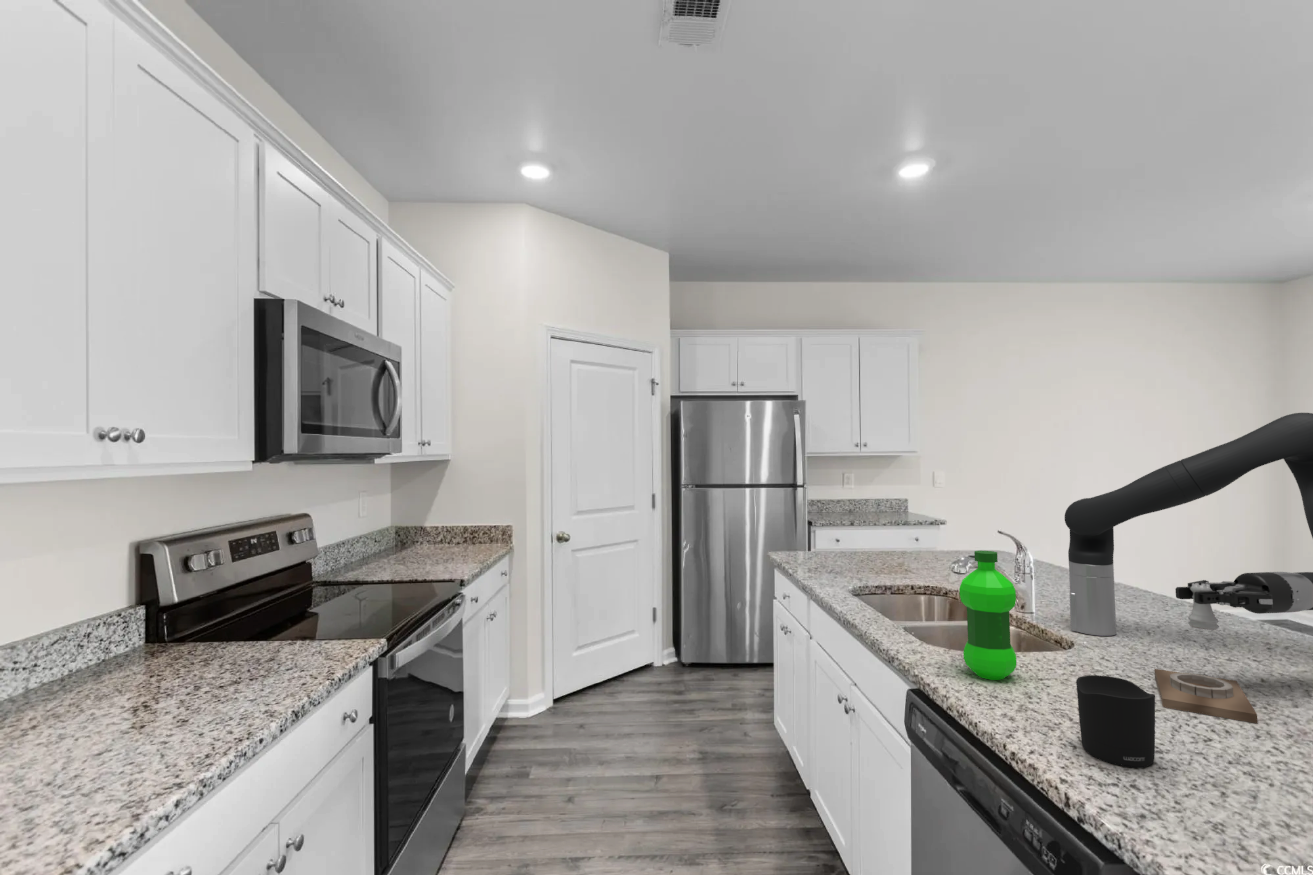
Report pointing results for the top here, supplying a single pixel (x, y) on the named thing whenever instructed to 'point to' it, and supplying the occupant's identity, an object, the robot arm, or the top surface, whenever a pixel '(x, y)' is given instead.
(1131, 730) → the pen holder
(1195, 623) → the rook chess piece
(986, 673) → the plastic bottle
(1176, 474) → the robot arm
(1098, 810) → the top surface
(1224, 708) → the ring plate
